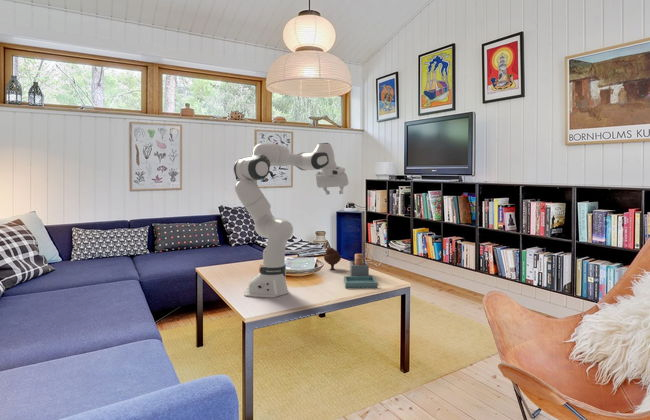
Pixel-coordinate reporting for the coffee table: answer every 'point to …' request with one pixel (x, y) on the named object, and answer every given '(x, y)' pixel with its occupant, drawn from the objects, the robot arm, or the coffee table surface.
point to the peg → (358, 259)
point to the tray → (360, 282)
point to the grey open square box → (359, 269)
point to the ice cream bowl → (332, 257)
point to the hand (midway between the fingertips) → (334, 194)
